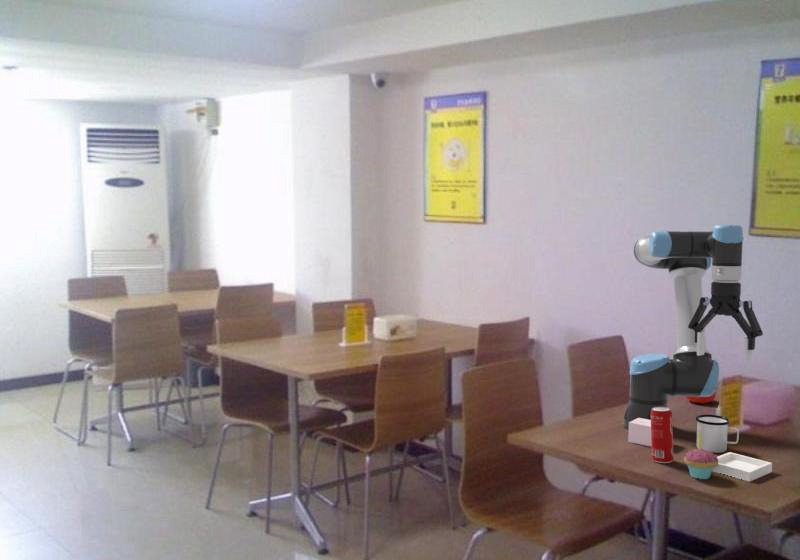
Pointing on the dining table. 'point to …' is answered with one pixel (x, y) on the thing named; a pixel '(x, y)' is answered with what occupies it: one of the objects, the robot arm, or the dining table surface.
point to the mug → (714, 433)
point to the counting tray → (742, 466)
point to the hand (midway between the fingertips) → (723, 358)
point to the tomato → (701, 399)
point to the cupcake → (700, 461)
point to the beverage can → (662, 434)
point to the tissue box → (640, 432)
